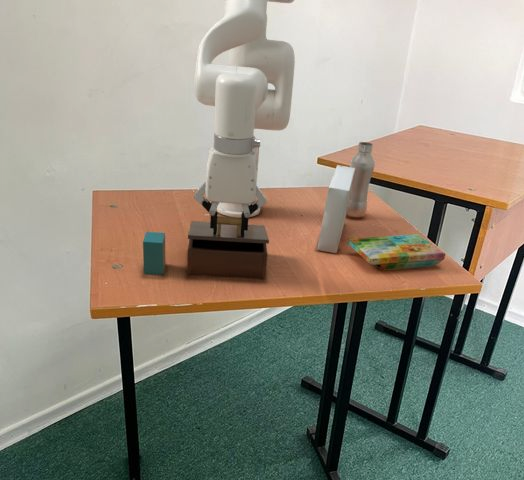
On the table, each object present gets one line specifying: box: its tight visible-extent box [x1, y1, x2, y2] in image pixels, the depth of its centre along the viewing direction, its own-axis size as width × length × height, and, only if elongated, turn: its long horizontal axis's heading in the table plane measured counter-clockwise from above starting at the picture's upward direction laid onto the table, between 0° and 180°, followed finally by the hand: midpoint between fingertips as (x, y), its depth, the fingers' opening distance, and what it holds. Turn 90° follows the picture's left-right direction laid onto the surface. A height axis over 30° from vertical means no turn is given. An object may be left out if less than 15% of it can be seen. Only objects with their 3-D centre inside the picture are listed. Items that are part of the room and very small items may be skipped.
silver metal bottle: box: [346, 141, 376, 218], centre depth 161 cm, size 6×7×20 cm
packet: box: [142, 231, 166, 276], centre depth 124 cm, size 6×4×8 cm
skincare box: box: [316, 164, 355, 254], centre depth 147 cm, size 21×6×16 cm, turn 168°
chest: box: [187, 239, 268, 280], centre depth 130 cm, size 14×17×7 cm
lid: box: [187, 215, 270, 245], centre depth 126 cm, size 14×17×5 cm
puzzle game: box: [346, 233, 447, 271], centre depth 141 cm, size 12×5×20 cm
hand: (228, 231), depth 123 cm, fingers closed on lid, 5 cm apart
